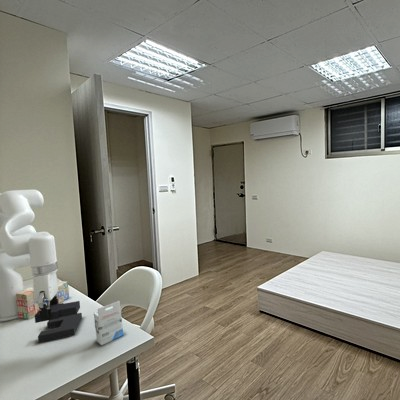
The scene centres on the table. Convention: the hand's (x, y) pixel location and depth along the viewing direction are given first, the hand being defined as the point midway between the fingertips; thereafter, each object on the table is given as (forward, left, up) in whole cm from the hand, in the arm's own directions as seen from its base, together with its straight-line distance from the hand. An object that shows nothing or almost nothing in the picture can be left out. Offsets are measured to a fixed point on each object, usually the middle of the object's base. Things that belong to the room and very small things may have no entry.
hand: (50, 314), depth 99 cm
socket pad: (-1, +14, -14) cm, 20 cm away
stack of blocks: (-15, +42, -14) cm, 47 cm away
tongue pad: (+3, 0, -1) cm, 3 cm away
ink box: (+19, -2, -14) cm, 24 cm away
